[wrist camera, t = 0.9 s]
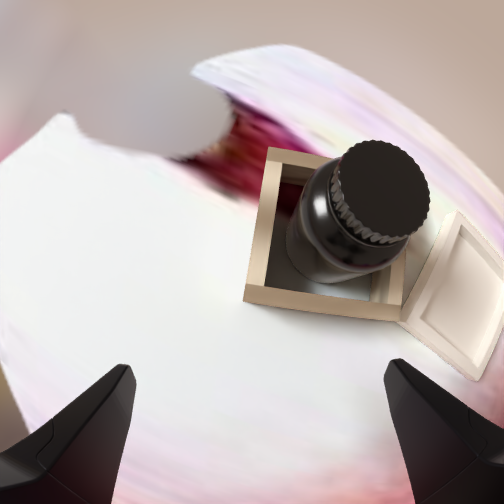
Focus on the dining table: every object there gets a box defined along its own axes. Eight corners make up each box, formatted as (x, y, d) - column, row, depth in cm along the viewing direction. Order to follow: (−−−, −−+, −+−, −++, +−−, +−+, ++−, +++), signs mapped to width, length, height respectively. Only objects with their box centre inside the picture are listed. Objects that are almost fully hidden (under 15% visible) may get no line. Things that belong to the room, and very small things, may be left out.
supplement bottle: (369, 216, 24) (449, 154, 12) (353, 293, 22) (441, 283, 11) (295, 191, 24) (330, 103, 12) (272, 270, 23) (297, 236, 11)
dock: (466, 378, 21) (478, 381, 19) (394, 321, 22) (405, 322, 20) (506, 281, 23) (518, 279, 21) (445, 215, 24) (457, 209, 22)
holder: (379, 319, 22) (398, 321, 19) (243, 301, 22) (242, 301, 19) (388, 192, 24) (406, 177, 20) (266, 167, 24) (268, 146, 21)
